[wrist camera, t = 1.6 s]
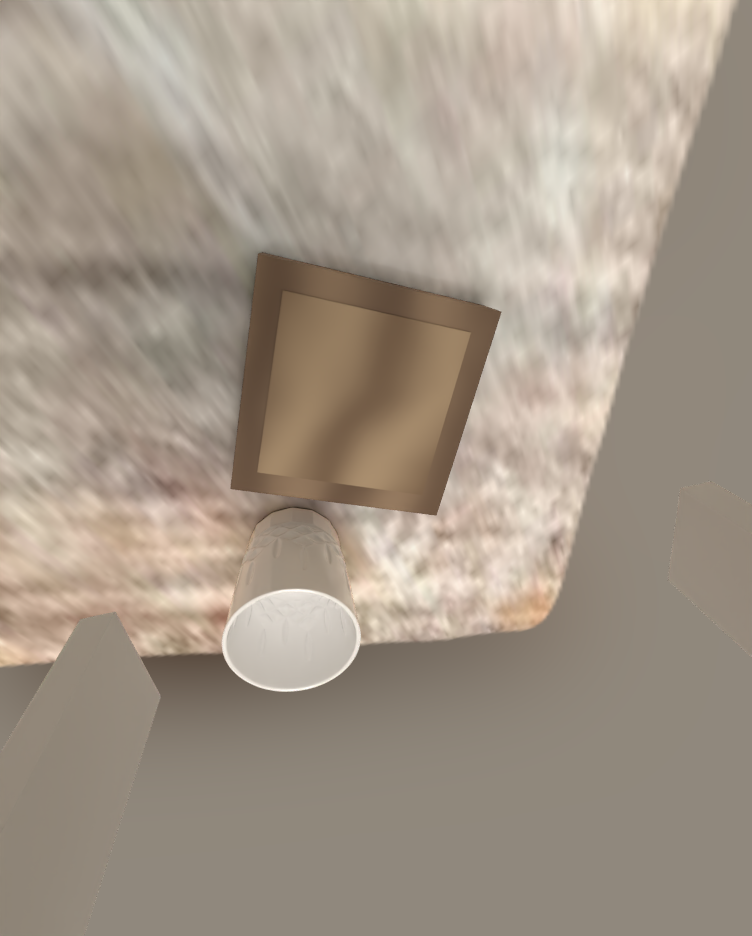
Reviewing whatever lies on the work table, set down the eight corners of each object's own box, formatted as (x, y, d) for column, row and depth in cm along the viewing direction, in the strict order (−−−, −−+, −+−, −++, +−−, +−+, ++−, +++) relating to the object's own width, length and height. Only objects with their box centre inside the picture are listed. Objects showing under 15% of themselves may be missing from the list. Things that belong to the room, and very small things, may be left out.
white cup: (260, 596, 38) (248, 705, 29) (226, 514, 34) (200, 611, 25) (356, 571, 38) (373, 672, 29) (332, 487, 35) (343, 573, 26)
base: (236, 468, 33) (230, 490, 30) (262, 252, 27) (257, 253, 25) (426, 495, 36) (436, 516, 33) (483, 305, 31) (502, 312, 28)
